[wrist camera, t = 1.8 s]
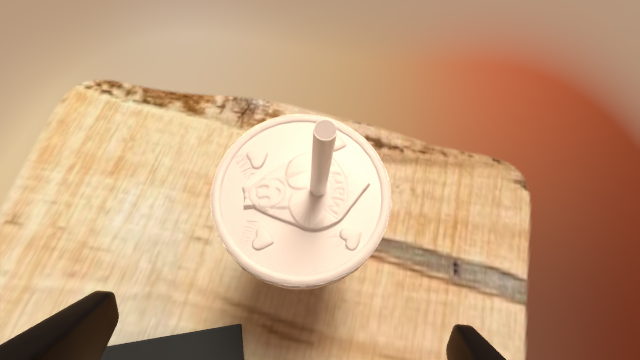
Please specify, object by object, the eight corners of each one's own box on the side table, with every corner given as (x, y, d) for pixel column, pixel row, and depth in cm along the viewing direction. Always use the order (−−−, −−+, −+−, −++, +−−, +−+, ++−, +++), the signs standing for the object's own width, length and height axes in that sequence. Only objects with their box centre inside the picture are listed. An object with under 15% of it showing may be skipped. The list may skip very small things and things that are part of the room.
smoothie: (363, 289, 20) (473, 255, 7) (252, 304, 20) (151, 297, 7) (346, 186, 22) (406, 15, 9) (246, 197, 22) (160, 30, 9)
